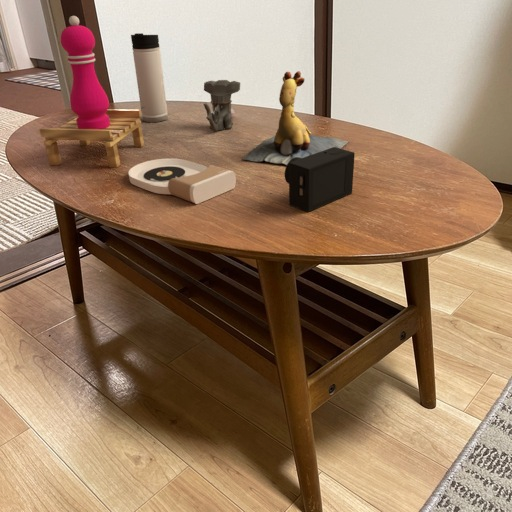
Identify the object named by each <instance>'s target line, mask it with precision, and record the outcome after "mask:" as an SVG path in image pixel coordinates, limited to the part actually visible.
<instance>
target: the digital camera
mask: <svg viewBox="0 0 512 512" xmlns="http://www.w3.org/2000/svg"><path fill="white" fill-rule="evenodd" d="M354 169H355V152H354V151H350V150H347V149H344V148H341V149H340V148H336V147H333V148H330V149H327V150H324V151H321V152H318V153H315V154H312V155H309V156H307V157H304V158H300V157H295V158H293V159H291V160H290V161H289V163H288V164H287V165H286V166H285V168H284V180H285V182H286V183H287V184H288V205H290V206H292V207H295V208H297V209H300V210H302V211H304V212H307V213H310V212H312V211H315V210H317V209H319V208H321V207H323V206H326V205H328V204H331V203H333V202H335V201H337V200H339V199H342V198H344V197H347V196H349V195H351V194H353V183H354ZM346 195H347V196H346Z"/></svg>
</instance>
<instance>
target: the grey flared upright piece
mask: <svg viewBox="0 0 512 512" xmlns="http://www.w3.org/2000/svg"><path fill="white" fill-rule="evenodd" d="M203 91H204V92H206V93H208V94H210V101H209V102H210V103H211V106H212V111H211V108H210V106H209V104H208V103H203V107H204V109H205V111H206V120H207V121H208V123H209V128H210V129H212V131H214V132H218V131H224V130H231V129H232V128H233V125H234V122H233V117H234V115H235V113H236V111H235V110H234V108H232V102H233V101H232V95H233V94H236V93H238V92H240V91H241V82H240V81H236V80H231V81H229V80H228V79H217V80H208V81H204V83H203Z"/></svg>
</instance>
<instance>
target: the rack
mask: <svg viewBox="0 0 512 512" xmlns="http://www.w3.org/2000/svg"><path fill="white" fill-rule="evenodd" d="M105 114H106V115H108V116H109V120H110V126H109V127H107V128H104V129H78V126H77V122H76V119H77V118H78V117H79V116H78V115H77V117H75V118H73V119H72V120H70V121H67V122H66V124H62V125H61V126H59V127H58V128H57V127H41V128H39V133H40V137H41V138H44V139H45V140H43V145H44V146H45V150H46V154H47V158H48V162H49V166H59V165H61V164H62V159H61V154H60V150H59V146H58V142H59V141H79V145H80V146H82V147H83V146H85V147H86V146H89V145H90V144H91V141H92V142H104V144H103V145H104V147H105V150H106V157H107V162H108V167H109V168H115V169H116V168H118V167H120V166H121V160H120V155H119V149H118V144H117V143H119V142H120V141H121V140H123V139H124V138H125V137H127V136H128V135H129V134H132V139H133V140H132V141H133V147H134V148H143V146H144V145H145V142H144V134H143V127H142V121H141V118H142V112H141V109H116V108H115V109H114V108H113V109H111V108H108V110H107V111H106V113H105Z"/></svg>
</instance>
